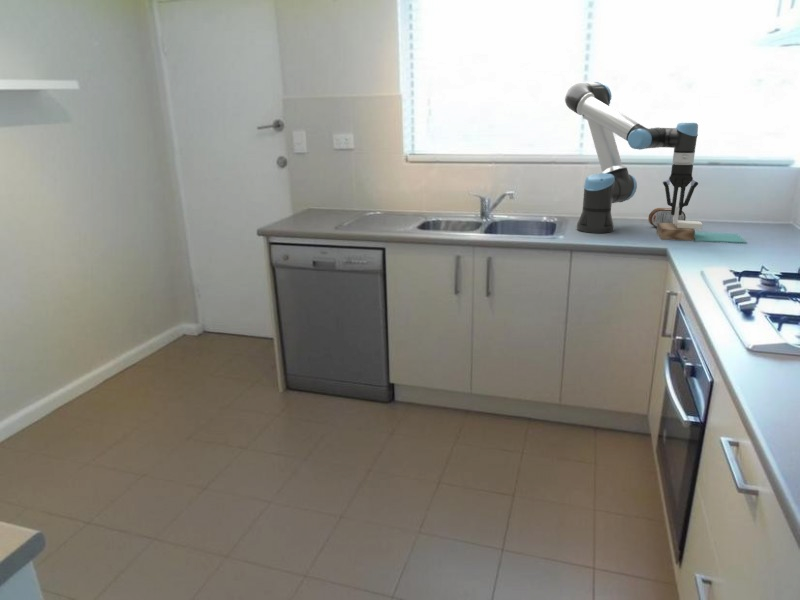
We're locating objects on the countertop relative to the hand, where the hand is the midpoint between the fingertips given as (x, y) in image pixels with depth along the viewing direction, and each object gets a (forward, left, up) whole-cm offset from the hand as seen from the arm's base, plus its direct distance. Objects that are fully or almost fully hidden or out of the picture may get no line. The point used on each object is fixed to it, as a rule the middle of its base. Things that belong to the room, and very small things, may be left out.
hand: (674, 223), depth 233 cm
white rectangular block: (+5, 0, -1) cm, 5 cm away
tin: (0, +19, -6) cm, 20 cm away
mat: (+16, 0, -6) cm, 17 cm away
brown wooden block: (+1, 0, -6) cm, 6 cm away
